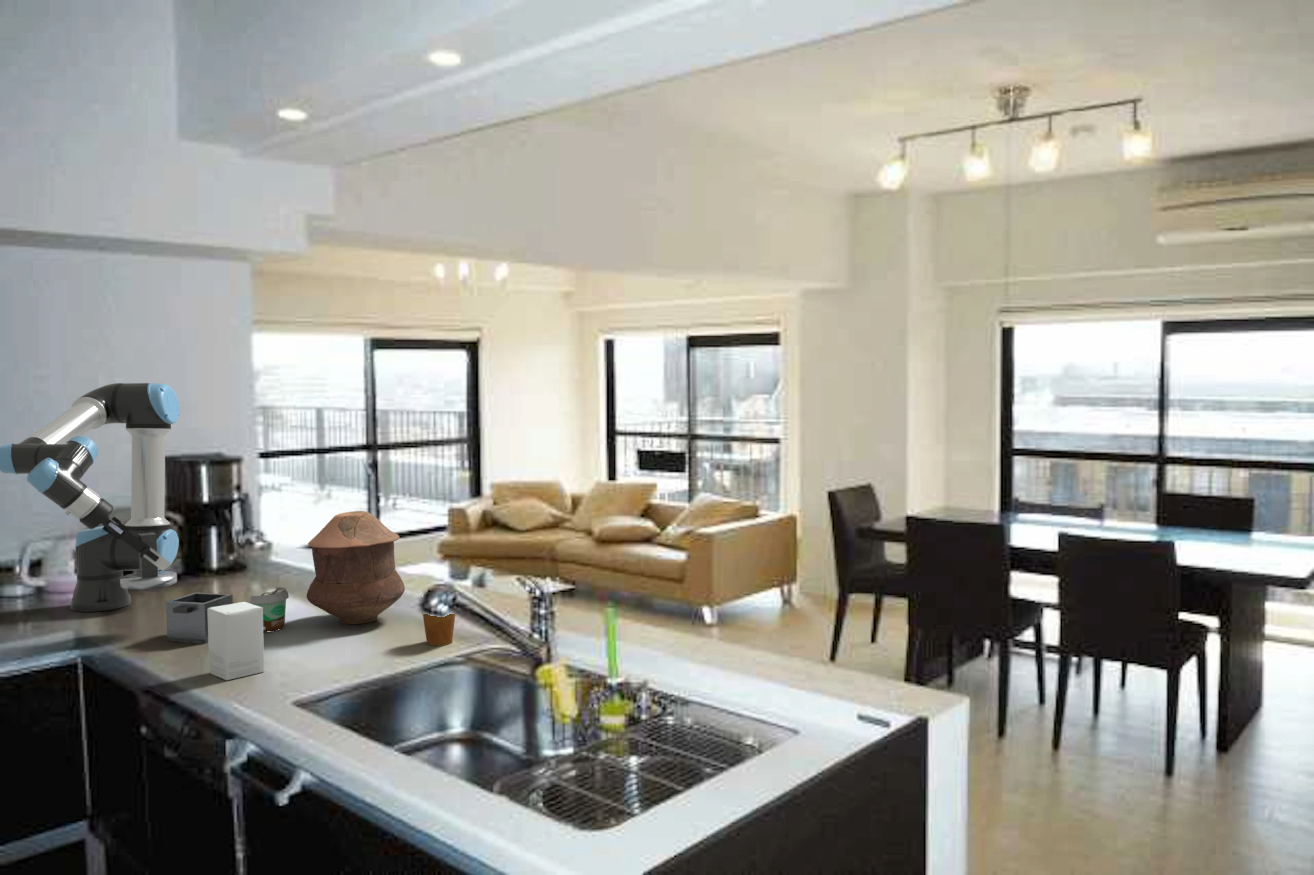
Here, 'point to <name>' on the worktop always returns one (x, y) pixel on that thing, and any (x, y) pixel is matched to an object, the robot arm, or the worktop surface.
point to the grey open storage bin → (192, 616)
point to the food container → (272, 608)
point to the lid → (148, 570)
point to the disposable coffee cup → (439, 629)
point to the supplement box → (235, 640)
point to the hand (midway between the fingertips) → (164, 565)
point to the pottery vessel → (354, 568)
